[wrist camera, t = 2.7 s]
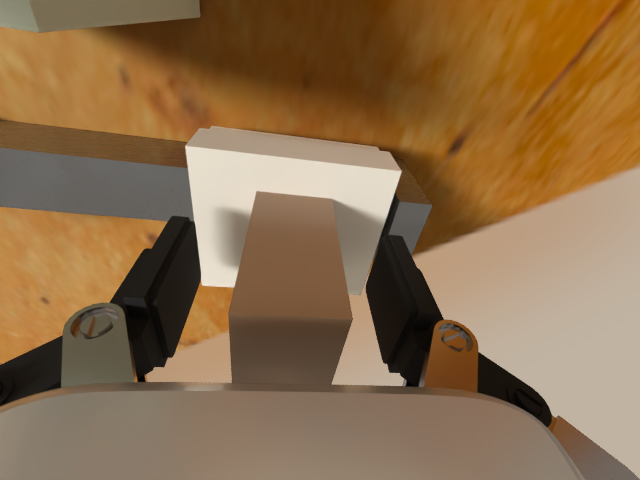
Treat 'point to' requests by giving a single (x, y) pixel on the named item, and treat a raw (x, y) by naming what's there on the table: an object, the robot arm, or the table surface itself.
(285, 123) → the table surface
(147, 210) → the rail
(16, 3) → the pale green open box
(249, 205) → the carriage
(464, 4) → the table surface
